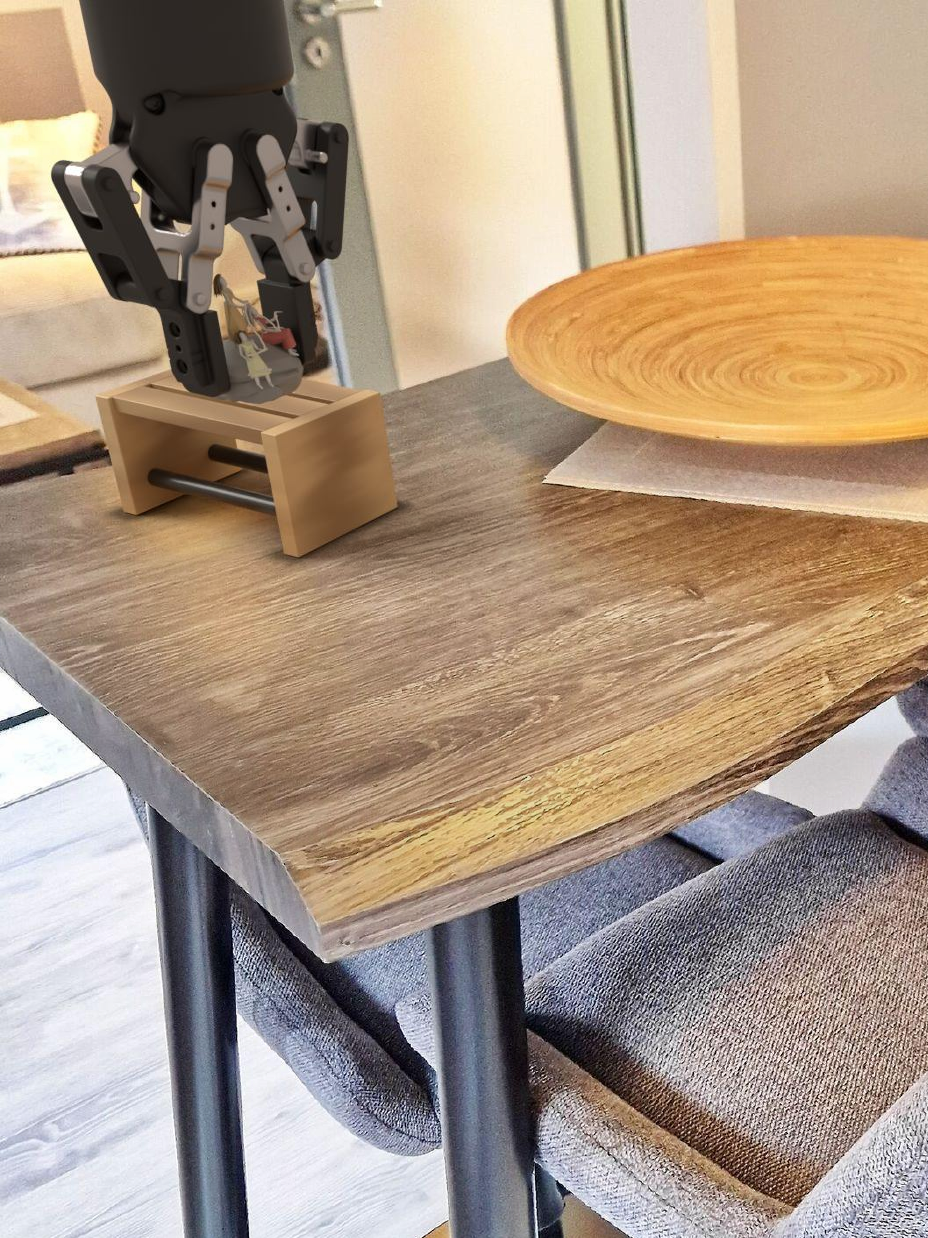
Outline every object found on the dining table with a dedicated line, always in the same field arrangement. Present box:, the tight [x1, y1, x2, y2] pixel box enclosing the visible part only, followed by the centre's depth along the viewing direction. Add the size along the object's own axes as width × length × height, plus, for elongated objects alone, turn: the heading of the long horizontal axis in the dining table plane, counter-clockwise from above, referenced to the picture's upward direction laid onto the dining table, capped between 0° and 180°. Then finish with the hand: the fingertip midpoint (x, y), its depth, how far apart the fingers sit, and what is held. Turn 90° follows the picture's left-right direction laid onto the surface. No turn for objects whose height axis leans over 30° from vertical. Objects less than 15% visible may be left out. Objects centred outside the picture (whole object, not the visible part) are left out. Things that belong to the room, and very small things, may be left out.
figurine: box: [212, 273, 304, 404], centre depth 66 cm, size 5×4×6 cm
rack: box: [94, 368, 398, 558], centre depth 97 cm, size 9×15×8 cm, turn 65°
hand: (251, 375), depth 67 cm, fingers closed on figurine, 4 cm apart
